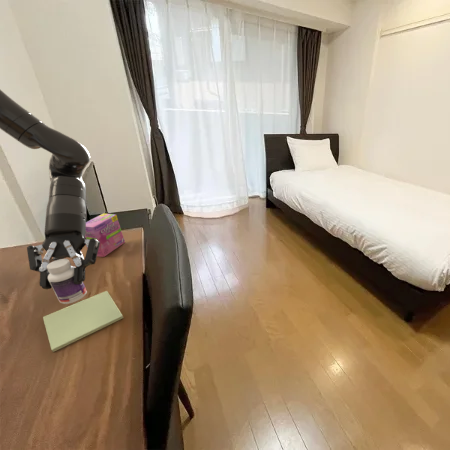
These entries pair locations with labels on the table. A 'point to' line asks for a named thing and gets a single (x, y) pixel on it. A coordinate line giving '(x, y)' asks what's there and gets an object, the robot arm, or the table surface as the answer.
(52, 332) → the notepad
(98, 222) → the box
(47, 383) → the table surface
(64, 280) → the pill bottle
